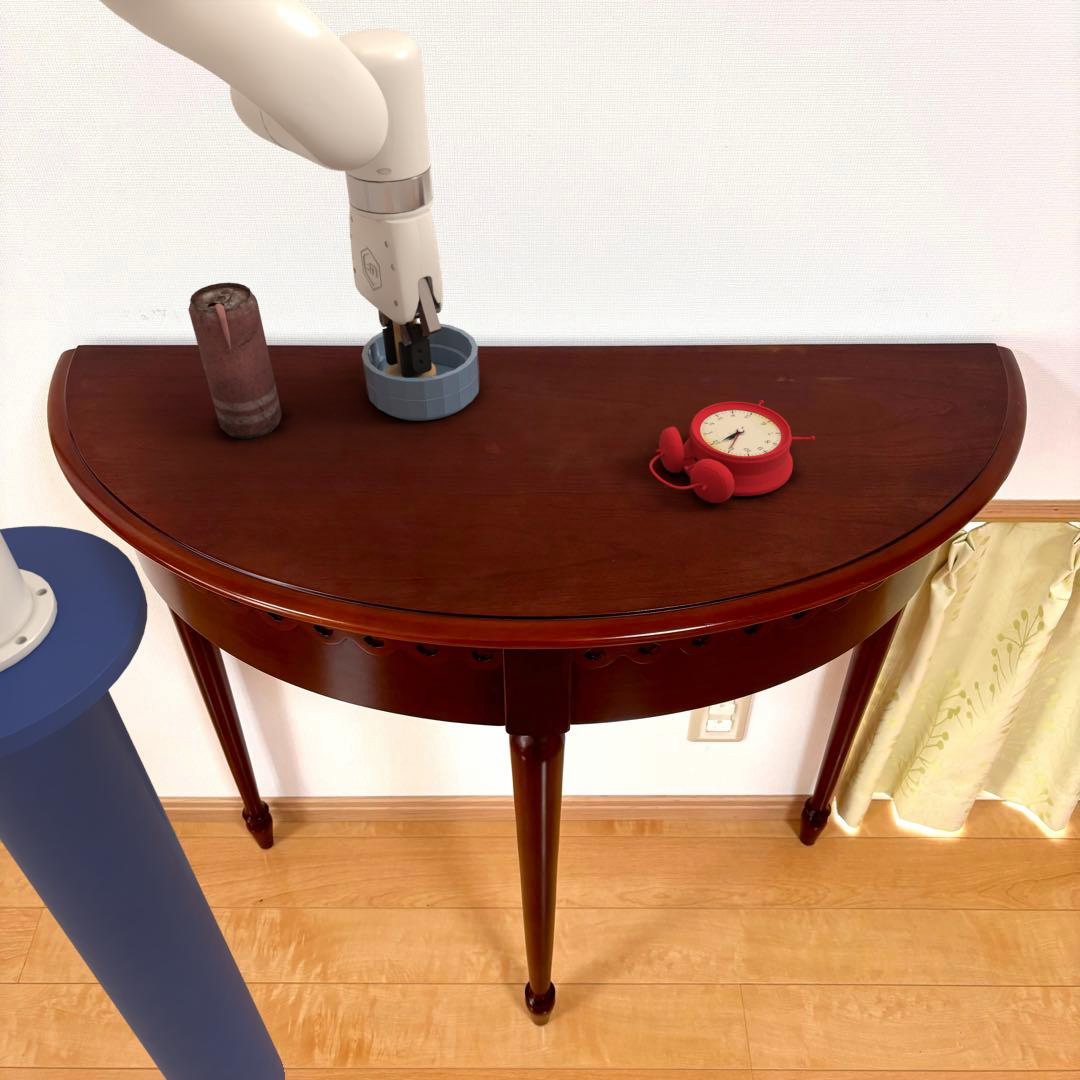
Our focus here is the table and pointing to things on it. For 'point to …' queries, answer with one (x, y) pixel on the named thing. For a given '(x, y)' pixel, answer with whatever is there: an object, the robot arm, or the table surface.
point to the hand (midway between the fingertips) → (409, 365)
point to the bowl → (430, 394)
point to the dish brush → (396, 368)
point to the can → (235, 359)
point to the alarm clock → (730, 451)
